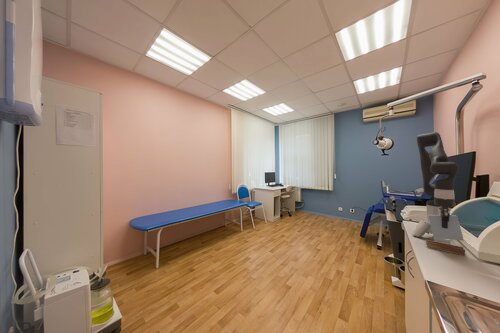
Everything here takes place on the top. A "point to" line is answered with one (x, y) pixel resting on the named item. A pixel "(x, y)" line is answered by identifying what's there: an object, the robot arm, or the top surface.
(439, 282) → the top surface
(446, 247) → the slot rack
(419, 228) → the infrared thermometer
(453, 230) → the slate sheet
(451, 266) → the top surface
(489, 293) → the top surface
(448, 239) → the offcut top
